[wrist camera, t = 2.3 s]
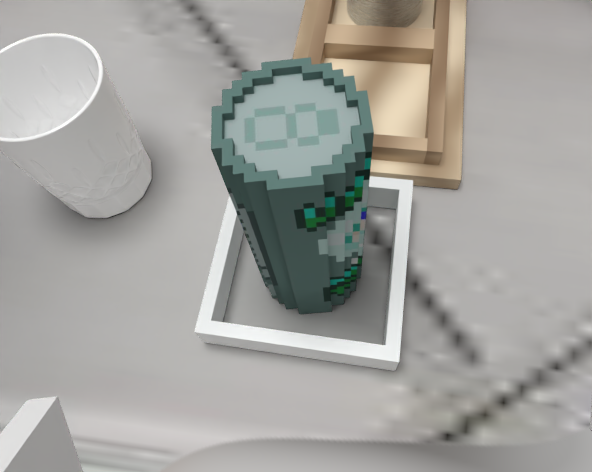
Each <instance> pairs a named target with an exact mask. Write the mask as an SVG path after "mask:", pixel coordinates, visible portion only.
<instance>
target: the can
mask: <svg viewBox="0 0 592 472" xmlns="http://www.w3.org/2000/svg"><path fill="white" fill-rule="evenodd" d="M261 65H262V70H258V71H249V72H242V80H236V81H232V89H224V90H222V106H213V107H212V129H211V150H212V152H213V155H214V157H215V160H216V162H217V165H218V167H219V170H220V172H221V175H222V177H223V180H224V182H225V185H226V187H227V190H228V192H229V195H230V197H231V200H232V202H233V205H234V207H235V210H236V212H237V215H238V218H239V220H240V223H241V225H242V228H243V230H244V233H245V235H246V238H247V240H248V243H249V245H250V248H251V250H252V253H253V255H254V258H255V260H256V263H257V265H258V268H259V270H260V273H261V275H262V278H263V280H264V283H265V285H266V287H267V286H268V287H269V290H270V292H271V295H272V297H273V298H278V301H279V304H280V303H284V304H285V307H286V309H293V308H298V311H299V314H308V313H320V312H331V311H332V308H331V305H340V304H344V298H349V297H350V291H356V279H357V278H360V277H361V266H362V255H363V245H364V234H365V223H366V212H367V201H368V191H369V180H370V169H371V158H372V147H373V137H374V130H373V124H372V118H371V112H370V105H369V99H368V93H367V90H364V91H356V85H355V78H354V76H345V77H344V74H343V69H337V70H333V69H332V62H331V63H322V64H313V65H312V64H311V57H308V58H299V59H290V60H281V61H272V62H263V63H261Z"/></svg>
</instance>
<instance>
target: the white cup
mask: <svg viewBox="0 0 592 472" xmlns="http://www.w3.org/2000/svg"><path fill="white" fill-rule="evenodd" d="M0 151H1V152H2V153H3V154H4V155H6V156H7V157H8V158H9V159H10V160H11V161H12V162H14V163H15V164H16V165H17V166H18V167H19V168H21V169H22V170H23V171H24V172H25V173H26V174H28V175H29V176H30V177H31V178H32V179H34V180H35V181H36V182H37V183H39V184H40V185H41V186H42V187H44V188H45V189H46V190H47V191H49V192H50V193H51V194H53V195H54V196H55V197H57V198H59V199H60V200H61V201H62V202H63V203H64V204H66V205H67V206H68V207H69V208H70V209H72V210H74V211H76V212H77V213H79V214H81V215H83V216H85V217H87V218H108V217H111V216H114V215H116V214H119V213H122V212H124V211H127V210H128V209H129V208H131V207H132V206H133V205H134V204H135V203H136V202H137V201H139V200H140V199H141V198H142V197H143V196H144V194H145V192H146V190H147V188H148V186H149V184H150V182H151V179H152V172H151V160H150V158H149V156H148V155H147V153H146V151H145V149H144V147H143V145H142V143H141V141H140V138H139V135H138V132H137V130H136V128H135V125H134V123H133V121H132V119H131V117H130V115H129V113H128V111H127V109H126V107H125V105H124V103H123V101H122V99H121V97H120V95H119V93H118V91H117V89H116V87H115V85H114V83H113V82H112V80H111V78H110V76H109V74H108V72H107V70H106V68H105V66H104V64H103V62H102V60H101V58H100V56H99V54H98V52H97V51H96V50H95V48H94V47H93V46H92V45H90V44H89V43H88V42H86V41H85V40H83V39H81V38H78V37H75V36H72V35H68V34H59V33H50V34H41V35H35V36H31V37H28V38H25V39H22V40H19V41H17V42H14V43H12V44H10V45H8V46H6V47H5V48H3V49H1V50H0Z"/></svg>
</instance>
